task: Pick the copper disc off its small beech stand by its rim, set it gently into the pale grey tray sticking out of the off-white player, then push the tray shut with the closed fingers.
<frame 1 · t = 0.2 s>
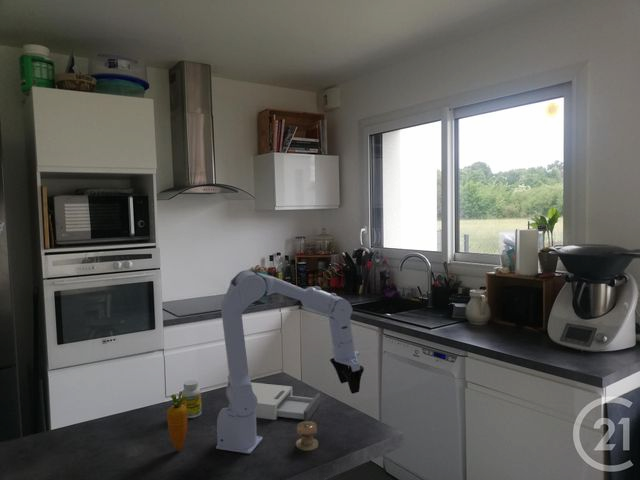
hand: (349, 387, 130), 10 cm above the countertop, tool pointing down, fingers open, 7 cm apart
player: (262, 406, 142), on the countertop
carrot: (178, 451, 118), on the countertop
supplement bottle: (192, 415, 138), on the countertop
stand: (307, 445, 119), on the countertop
disc: (306, 431, 119), point 3 cm above the countertop, touching stand
tray: (292, 404, 139), point 2 cm above the countertop, slide at 8.0 cm
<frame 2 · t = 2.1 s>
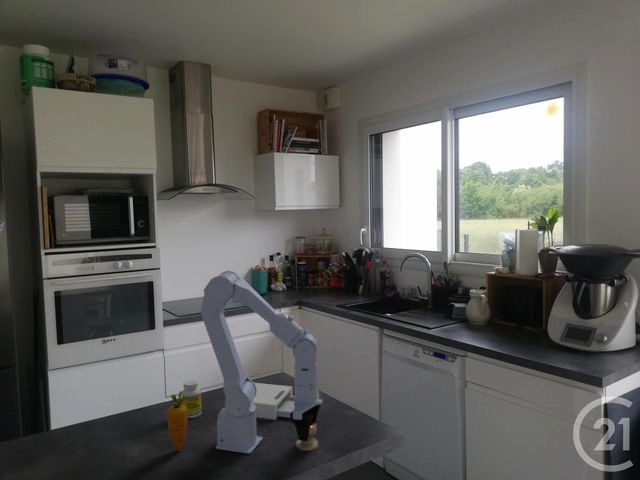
hand: (306, 434, 119), 3 cm above the countertop, tool pointing down, fingers closed on disc, 5 cm apart
disc: (306, 431, 119), point 3 cm above the countertop, touching gripper, stand
everything else where it was.
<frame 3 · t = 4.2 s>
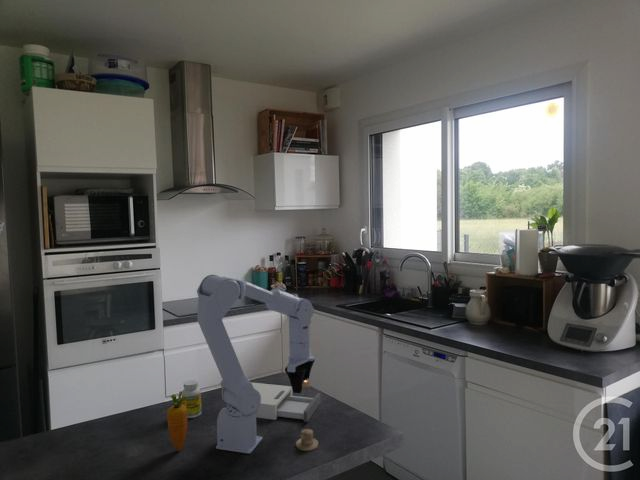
hand: (300, 388, 131), 10 cm above the countertop, tool pointing down, fingers closed on disc, 5 cm apart
disc: (300, 385, 131), point 10 cm above the countertop, touching gripper
everything else where it was.
when the fingers open (2 cm above the countertop, at t = 6.6 s): disc drops 2 cm, resting on tray.
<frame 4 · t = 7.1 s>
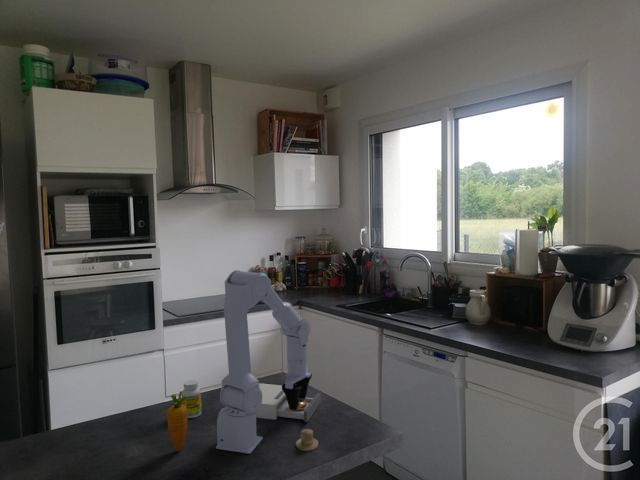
hand: (297, 403, 139), 2 cm above the countertop, tool pointing down, fingers open, 7 cm apart
disc: (298, 407, 139), point 1 cm above the countertop, touching tray
tray: (292, 404, 139), point 2 cm above the countertop, slide at 8.0 cm, touching disc
everything else where it was.
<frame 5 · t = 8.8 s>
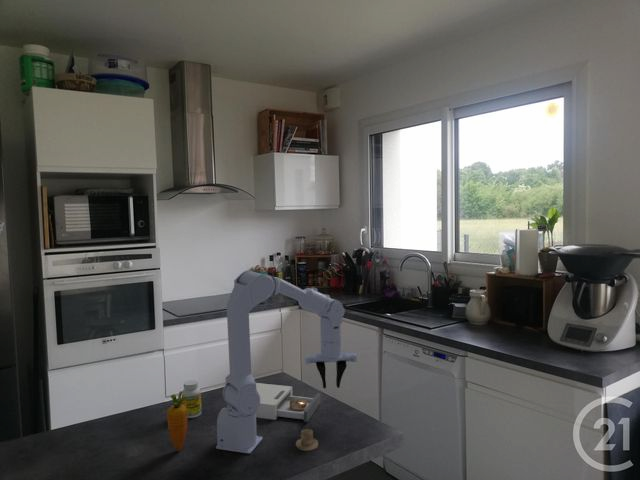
hand: (331, 386, 136), 8 cm above the countertop, tool pointing down, fingers open, 3 cm apart
nothing on the countertop moved.
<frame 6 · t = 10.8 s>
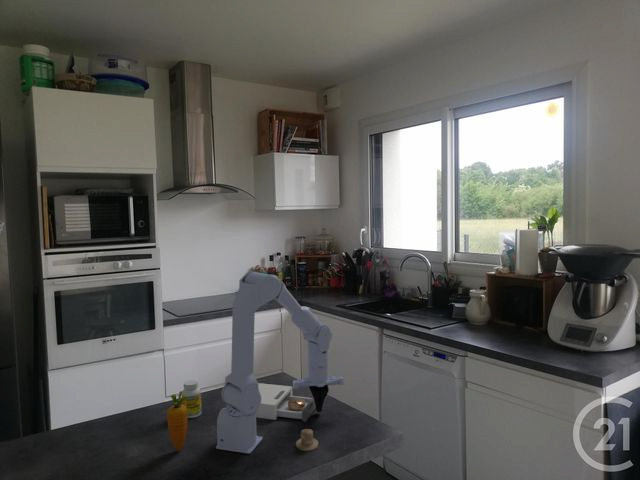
hand: (318, 410, 137), 1 cm above the countertop, tool pointing down, fingers closed
tray: (291, 404, 140), point 2 cm above the countertop, slide at 7.5 cm, touching disc, gripper
everything else where it was.
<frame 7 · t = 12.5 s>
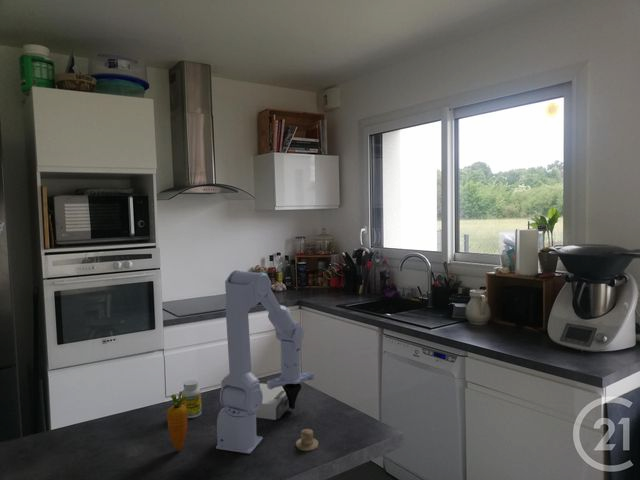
hand: (291, 407, 139), 1 cm above the countertop, tool pointing down, fingers closed, pressing on tray
disc: (271, 404, 141), point 1 cm above the countertop, touching tray
tray: (266, 401, 142), point 2 cm above the countertop, slide at -0.3 cm, touching disc, gripper, player
everything else where it was.
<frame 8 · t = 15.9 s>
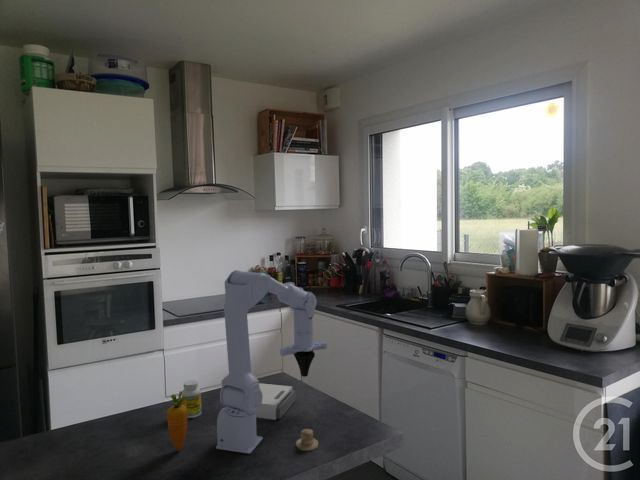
hand: (304, 375, 142), 9 cm above the countertop, tool pointing down, fingers closed
tray: (267, 401, 142), point 2 cm above the countertop, slide at 0.0 cm, touching disc
everything else where it was.
at the end: tray slide at 0.0 cm; disc inside the target area on the player (2.5 cm from its centre), point 1.1 cm above the player's base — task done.
